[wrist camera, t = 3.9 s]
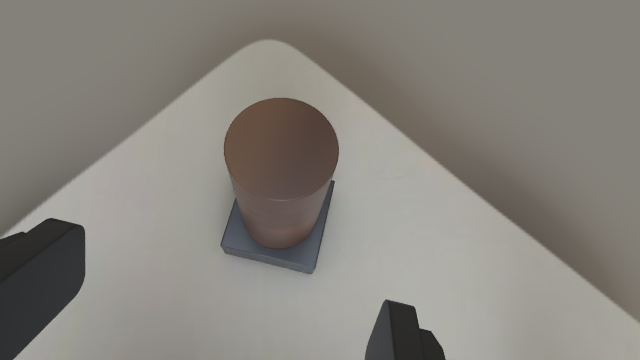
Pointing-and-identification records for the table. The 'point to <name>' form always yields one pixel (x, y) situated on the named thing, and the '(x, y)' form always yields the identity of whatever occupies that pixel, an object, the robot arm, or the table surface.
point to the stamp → (279, 182)
